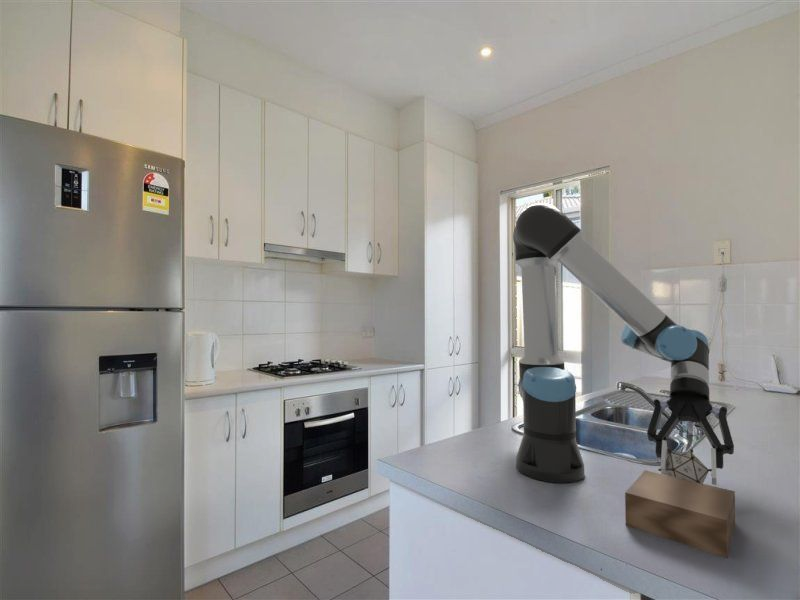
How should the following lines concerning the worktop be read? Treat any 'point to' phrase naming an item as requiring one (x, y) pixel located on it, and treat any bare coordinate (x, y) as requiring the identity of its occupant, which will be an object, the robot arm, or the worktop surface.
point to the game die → (685, 466)
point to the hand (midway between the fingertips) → (687, 476)
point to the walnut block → (682, 511)
